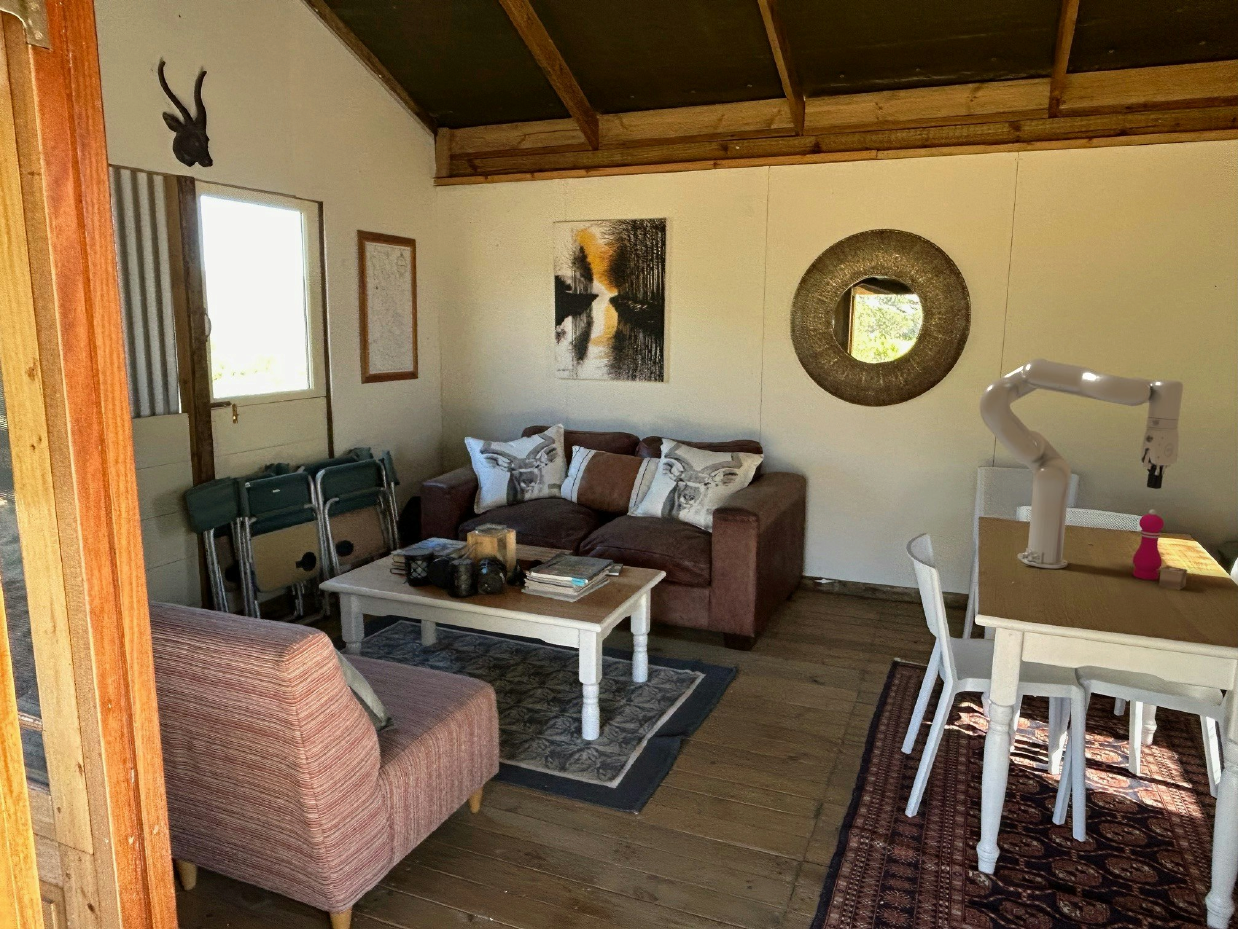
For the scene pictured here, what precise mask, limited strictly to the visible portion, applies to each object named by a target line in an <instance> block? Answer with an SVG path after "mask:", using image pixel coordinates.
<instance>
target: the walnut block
mask: <svg viewBox="0 0 1238 929" xmlns="http://www.w3.org/2000/svg"><path fill="white" fill-rule="evenodd" d="M1187 574H1188V569H1186V568H1180V567H1176V566H1170V565H1166V566H1164V567H1161V568H1160V575H1159V581H1158V582H1159V583H1158V586H1159V587H1161V586H1162V587H1163V588H1167V589H1171V588H1172V589H1171V590H1176V589H1178V590H1177V591H1180V589H1181V590H1182V589H1183V588H1186V582H1187V577H1188V576H1187Z"/></svg>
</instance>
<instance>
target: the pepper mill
mask: <svg viewBox="0 0 1238 929" xmlns="http://www.w3.org/2000/svg"><path fill="white" fill-rule="evenodd" d="M1148 513H1149V514H1144V515H1143V516H1141V517H1140V519H1139V522H1138V523H1139V527H1140V528H1141V530H1140V533H1139V535H1140V536H1141V540H1140V544H1139V546H1138V549H1137V550H1136V552H1135V553H1134V555H1133V558H1132V564H1133V565H1134V568H1133V572H1132V575H1133V576H1134V577H1135V578H1138V579H1141V578H1142V580H1148V581H1149V580H1150V581H1151V580H1152V581H1154V580H1158V578H1159V573H1160V572H1159V571H1158V570H1159V569H1161V568H1162V563H1163V562H1162V557H1161V554H1160V552H1159V547H1158V541H1159V538H1161V534H1162V533H1161V530H1163V528H1164V525H1165V522H1164V520H1163V518H1162V517H1160V516H1159V515H1158V514H1157V510H1155V509H1150V510H1149V511H1148Z"/></svg>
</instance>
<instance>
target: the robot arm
mask: <svg viewBox="0 0 1238 929" xmlns="http://www.w3.org/2000/svg"><path fill="white" fill-rule="evenodd" d="M1037 389H1039V390H1043V391H1050V392H1055V393H1056V392H1057V393H1061V394H1066V395H1071V396H1075V397H1081V398H1086V399H1093V400H1097V401H1102V402H1106V403H1112V404H1118V405H1121V406H1122V405H1123V406H1128V407H1139V406H1142V405H1144V404H1148V411H1147V419H1146V426H1145V428H1146V429H1145V433H1144V436H1143V440H1142V444H1141V445H1142V446H1141V451H1140V461H1141V463H1143V464H1142V468H1143V469H1146V471H1147V472H1146V473H1147V474H1148V475H1147V481H1146V488H1149V489H1155V490H1159V489H1162V483H1163V476H1164V474H1165V472H1166V469H1167V468H1168V467H1171V465H1174V464H1176V463H1177V461H1178V455H1179V454H1178V453H1179V429H1178V428H1179V426H1178V425H1179V419H1180V412H1181V406H1182V396H1183V391H1184V385H1183V383H1182V382H1181V381H1179V380H1172V379H1157V380H1155V379H1148V378H1143V377H1130V378H1129V377H1123V376H1118V375H1117V376H1116V375H1111V374H1107V373H1102V372H1099V371H1096V370H1094V369H1091V368H1089V367H1085V366H1082V365H1075V364H1067V363H1061V362H1056V361H1050V360H1047V359H1045V358H1039V357H1038V358H1033V359H1031V360H1029V361H1028V362H1026V363H1025V364H1024V365H1022V366H1020V367H1018V368H1016V369H1015V370H1013V371H1011V372H1009V373H1008V374H1005V375H1003V376H1001V377H1000V378H998V379H996V380H994V381H992V382H990V383H989V384H988V385H987V386H986V388H985V389H984V391H983V393H982V395H981V397H980V401H979V414H980V416H981V420H982V421H983V423H984V425H985V426H986V427H987V428H988V429H989V431H990V432H991V433H992V435H993V436H995V438H996V439H997V441H999V442H1000V444H1001V445H1002V446H1003V447H1004V449H1006V450H1007V451H1008V453H1009V454H1010V455H1011V456H1012V458H1014V460H1015V461H1016V462H1017V463H1019V464H1023V465H1025V466H1026V467H1028V469H1029V470H1030V471H1031V472H1032V473H1033V479H1032V495H1031V496H1032V498H1031V506H1030V507H1031V509H1030V520H1029V521H1030V523H1029V531H1028V533H1029V534H1028V543H1027V544H1028V545H1027V547H1026V549H1025V551H1024V552H1019V553H1018V554H1017V559H1018V560H1021V562H1023V563H1024V564H1026V565H1029V566H1032V567H1036V568H1042V569H1062V568H1063V569H1064V568H1066V567H1067V566H1068V561H1067V560H1066V559H1064V558H1063V552H1064V541H1065V530H1066V520H1067V509H1068V498H1069V488H1070V481H1071V475H1072V470H1071V466H1070V464H1069V463H1068V462H1067V460H1066V459H1065V458H1064V456H1062V455H1061V454H1060V452H1059V451H1057V449H1056V448H1055V447H1054V446H1053V445H1052V444H1051V443H1050V441H1048V440H1047V438H1045V437H1044V436H1043V435H1042V434H1041V433H1039V432H1038V431H1034V430H1032V429H1029V428H1028V427H1027V426H1026V425H1025V424H1024V422H1022V420H1021V419H1020V418H1019V417H1018V416H1017V415H1016V414H1015V413H1014V412H1013V411H1012V409H1011V404H1012V403H1014V402H1016V401H1017V400H1019V399H1021V398H1023V397H1025V396H1027V395H1029V394H1031V393H1033V392H1034V391H1037Z"/></svg>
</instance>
